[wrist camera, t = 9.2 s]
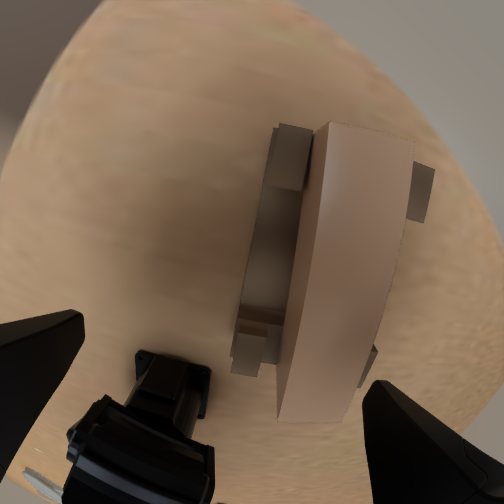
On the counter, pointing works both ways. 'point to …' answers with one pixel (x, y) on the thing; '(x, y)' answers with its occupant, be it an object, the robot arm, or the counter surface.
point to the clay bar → (341, 267)
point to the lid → (44, 485)
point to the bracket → (288, 249)
